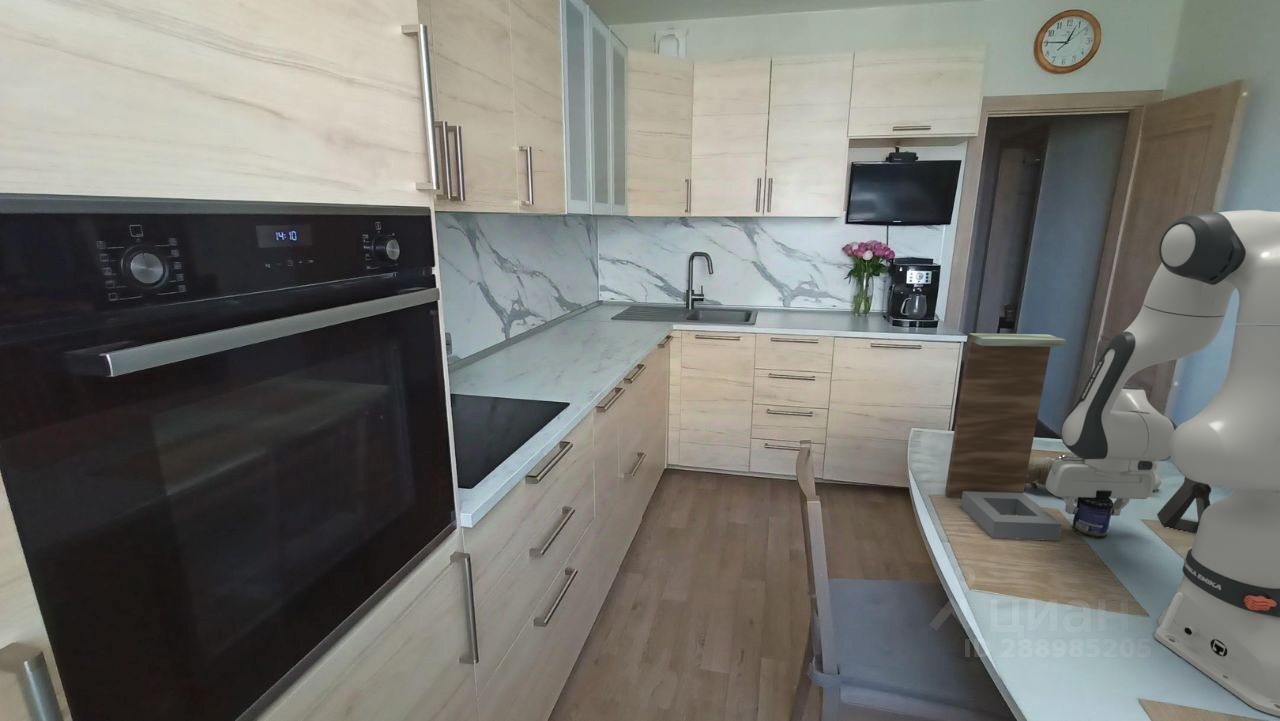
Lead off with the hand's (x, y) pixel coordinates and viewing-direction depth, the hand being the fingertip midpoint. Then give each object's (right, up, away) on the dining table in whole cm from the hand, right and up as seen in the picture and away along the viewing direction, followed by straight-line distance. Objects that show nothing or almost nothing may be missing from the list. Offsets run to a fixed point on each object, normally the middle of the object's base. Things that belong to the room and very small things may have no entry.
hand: (1091, 513), depth 125 cm
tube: (+22, +1, +25) cm, 33 cm away
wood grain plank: (-14, -1, +14) cm, 20 cm away
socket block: (-16, -3, +5) cm, 17 cm away
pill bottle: (0, -5, +1) cm, 5 cm away
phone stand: (+24, -4, +3) cm, 25 cm away
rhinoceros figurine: (+4, 0, +18) cm, 18 cm away
